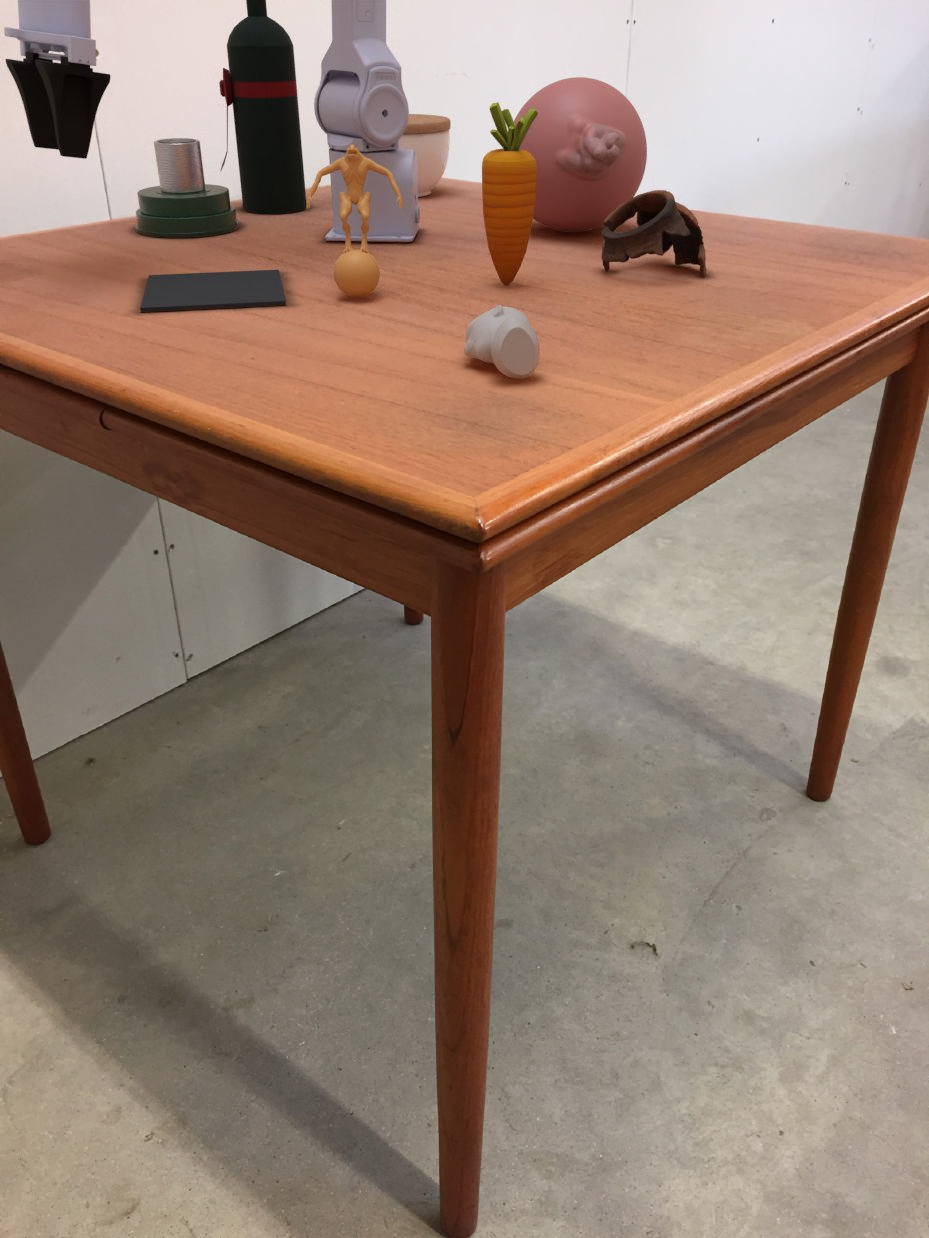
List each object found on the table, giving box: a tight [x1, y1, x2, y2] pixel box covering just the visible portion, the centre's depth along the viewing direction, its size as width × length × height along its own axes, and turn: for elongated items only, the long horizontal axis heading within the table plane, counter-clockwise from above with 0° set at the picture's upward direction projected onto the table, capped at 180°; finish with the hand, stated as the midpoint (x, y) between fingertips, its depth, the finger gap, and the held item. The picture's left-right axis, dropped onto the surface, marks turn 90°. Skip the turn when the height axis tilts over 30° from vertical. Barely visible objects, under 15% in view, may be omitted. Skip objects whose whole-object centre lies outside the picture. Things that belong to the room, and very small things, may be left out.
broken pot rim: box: [600, 189, 707, 278], centre depth 96 cm, size 12×10×8 cm
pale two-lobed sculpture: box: [463, 304, 540, 380], centre depth 71 cm, size 4×8×5 cm
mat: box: [139, 269, 287, 313], centre depth 90 cm, size 12×12×1 cm
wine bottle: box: [218, 0, 307, 215], centre depth 118 cm, size 8×10×30 cm
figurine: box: [306, 145, 404, 299], centre depth 86 cm, size 8×6×12 cm
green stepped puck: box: [134, 183, 241, 239], centre depth 114 cm, size 12×12×4 cm
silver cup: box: [153, 137, 206, 193], centre depth 111 cm, size 5×5×5 cm
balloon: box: [513, 76, 648, 233], centre depth 108 cm, size 15×20×15 cm
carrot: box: [481, 101, 538, 287], centre depth 88 cm, size 5×5×15 cm
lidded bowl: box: [398, 113, 451, 198], centre depth 133 cm, size 13×13×11 cm
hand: (59, 152), depth 90 cm, fingers open, 7 cm apart
